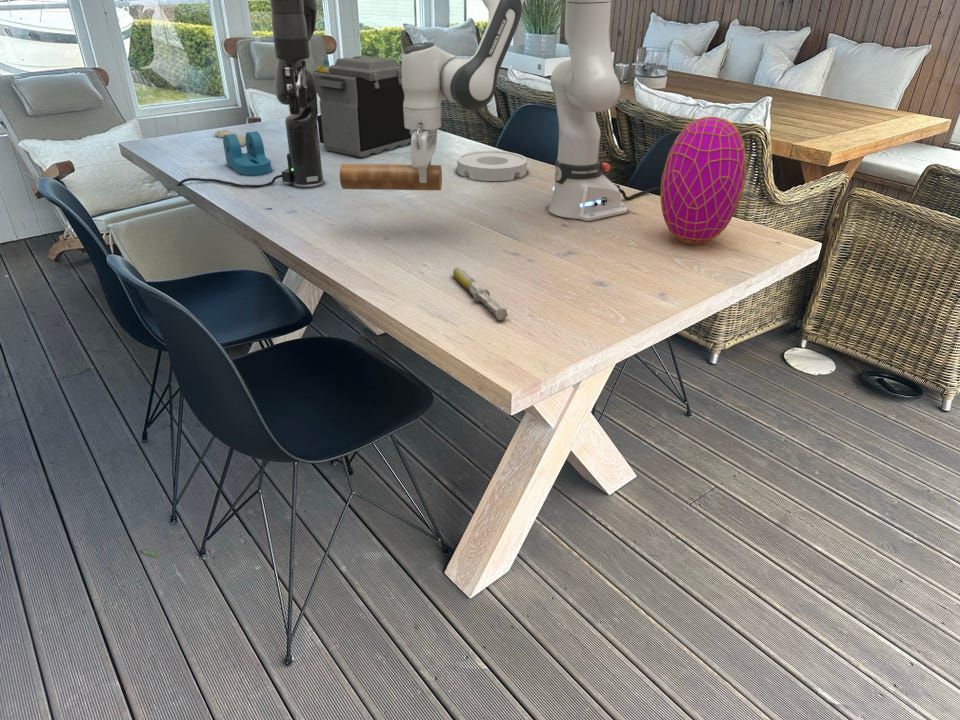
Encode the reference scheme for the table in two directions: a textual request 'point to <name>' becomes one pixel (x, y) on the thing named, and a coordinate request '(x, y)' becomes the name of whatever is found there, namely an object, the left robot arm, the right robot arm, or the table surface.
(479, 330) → the table surface
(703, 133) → the decorative egg
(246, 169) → the camera mount
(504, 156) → the ashtray
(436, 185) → the rod
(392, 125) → the grey cooler box
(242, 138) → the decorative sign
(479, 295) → the syringe
